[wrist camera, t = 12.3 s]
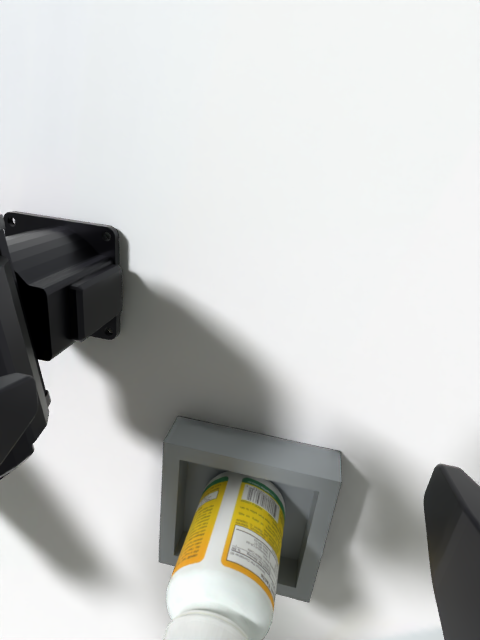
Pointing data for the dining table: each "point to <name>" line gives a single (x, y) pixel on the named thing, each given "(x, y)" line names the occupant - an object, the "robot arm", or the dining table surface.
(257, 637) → the supplement bottle
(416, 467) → the dining table surface
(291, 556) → the tray
